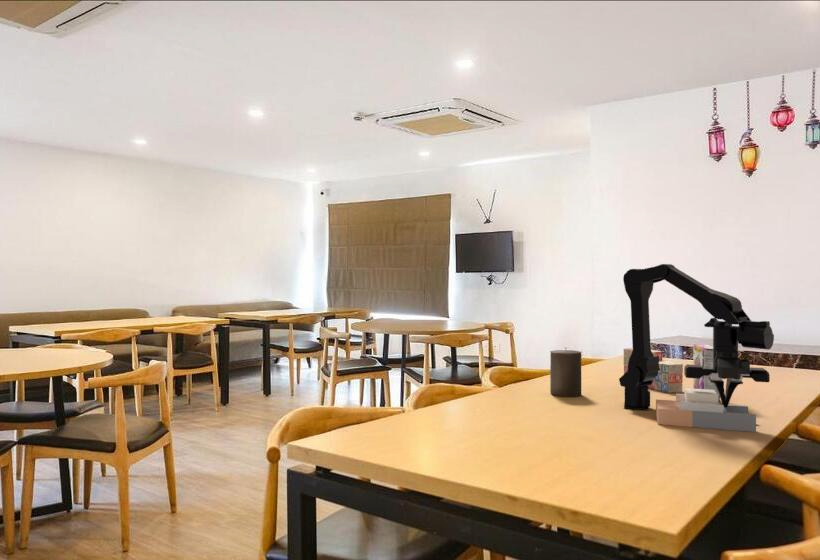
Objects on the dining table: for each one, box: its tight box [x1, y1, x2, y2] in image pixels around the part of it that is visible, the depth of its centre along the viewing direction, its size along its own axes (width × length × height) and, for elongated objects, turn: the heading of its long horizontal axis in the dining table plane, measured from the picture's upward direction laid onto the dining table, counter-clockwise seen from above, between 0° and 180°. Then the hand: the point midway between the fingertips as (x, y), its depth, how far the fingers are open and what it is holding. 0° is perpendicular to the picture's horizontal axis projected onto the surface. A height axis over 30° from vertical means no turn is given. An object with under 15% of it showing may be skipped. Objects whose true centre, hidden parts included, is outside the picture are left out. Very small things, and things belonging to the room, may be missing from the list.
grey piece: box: [655, 399, 757, 433], centre depth 154 cm, size 22×12×4 cm, turn 70°
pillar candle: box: [549, 347, 582, 398], centre depth 191 cm, size 10×10×15 cm
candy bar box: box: [692, 344, 721, 404], centre depth 182 cm, size 11×5×16 cm, turn 168°
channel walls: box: [675, 393, 724, 413], centre depth 155 cm, size 10×11×2 cm
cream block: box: [684, 387, 718, 404], centre depth 154 cm, size 7×7×4 cm
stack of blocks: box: [623, 347, 684, 394], centre depth 204 cm, size 21×6×12 cm, turn 20°
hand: (725, 406), depth 153 cm, fingers closed
